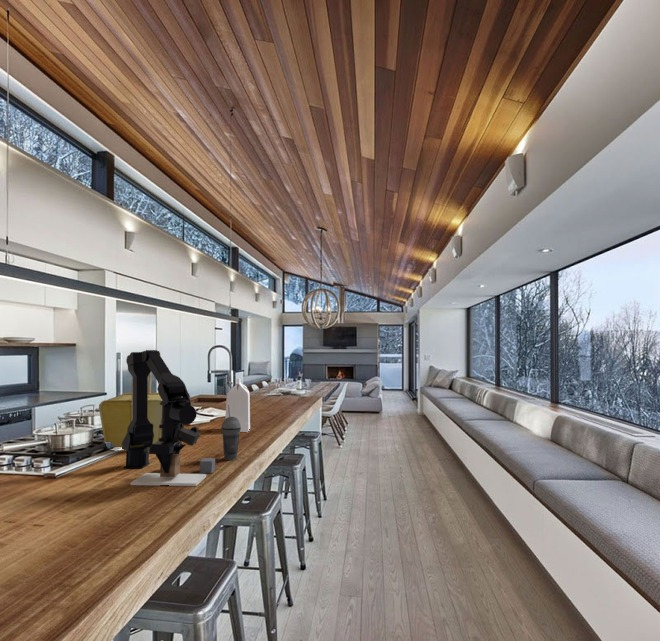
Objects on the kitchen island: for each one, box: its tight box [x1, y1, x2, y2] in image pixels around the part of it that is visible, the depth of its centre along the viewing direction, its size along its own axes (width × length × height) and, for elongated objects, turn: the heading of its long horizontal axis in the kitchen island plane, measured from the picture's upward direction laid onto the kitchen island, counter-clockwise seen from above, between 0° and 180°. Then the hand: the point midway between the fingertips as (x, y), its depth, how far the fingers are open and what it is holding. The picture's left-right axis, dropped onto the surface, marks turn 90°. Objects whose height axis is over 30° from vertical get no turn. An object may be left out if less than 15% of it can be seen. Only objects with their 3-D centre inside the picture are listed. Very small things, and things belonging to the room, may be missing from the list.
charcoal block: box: [199, 457, 216, 474], centre depth 152 cm, size 4×4×4 cm
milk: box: [224, 377, 251, 433], centre depth 227 cm, size 12×12×26 cm
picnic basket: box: [98, 372, 162, 451], centre depth 194 cm, size 29×26×30 cm
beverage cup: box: [220, 405, 241, 461], centre depth 170 cm, size 7×7×20 cm
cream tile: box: [130, 472, 207, 487], centre depth 141 cm, size 20×10×1 cm, turn 88°
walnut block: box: [159, 453, 181, 477], centre depth 142 cm, size 4×4×6 cm
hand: (169, 470), depth 142 cm, fingers closed on walnut block, 4 cm apart
